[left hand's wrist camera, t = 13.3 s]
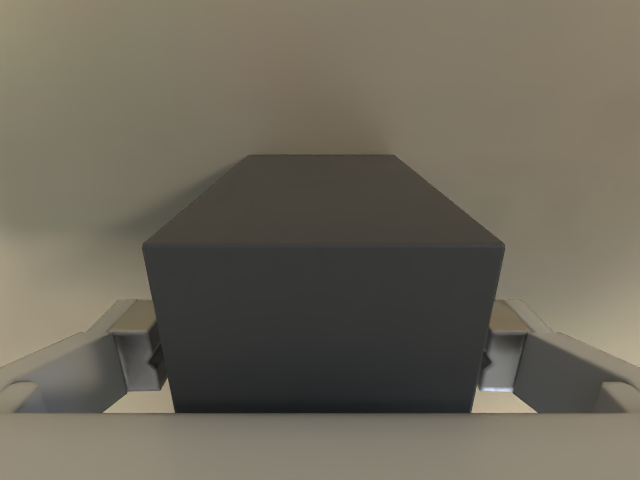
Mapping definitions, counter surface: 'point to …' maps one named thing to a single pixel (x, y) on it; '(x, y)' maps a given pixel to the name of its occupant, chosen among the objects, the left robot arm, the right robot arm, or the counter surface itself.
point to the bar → (323, 291)
